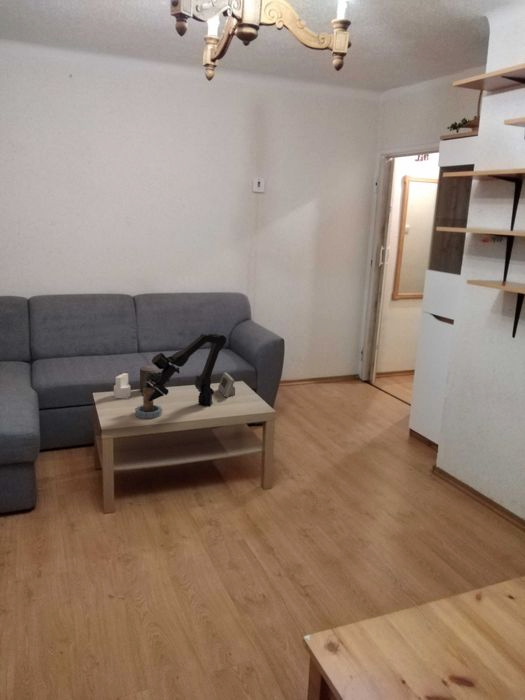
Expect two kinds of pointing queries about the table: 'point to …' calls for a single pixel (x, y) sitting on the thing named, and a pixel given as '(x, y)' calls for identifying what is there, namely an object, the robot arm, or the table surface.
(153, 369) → the pillar candle
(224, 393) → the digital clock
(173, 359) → the robot arm
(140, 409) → the ceramic ring dish
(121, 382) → the cylinder with rectangular tab
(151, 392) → the brown tapered cylinder
